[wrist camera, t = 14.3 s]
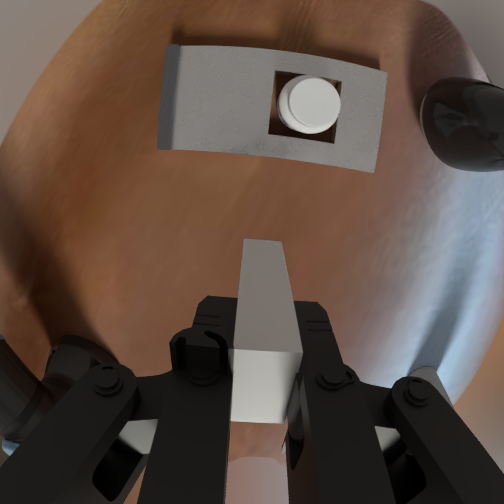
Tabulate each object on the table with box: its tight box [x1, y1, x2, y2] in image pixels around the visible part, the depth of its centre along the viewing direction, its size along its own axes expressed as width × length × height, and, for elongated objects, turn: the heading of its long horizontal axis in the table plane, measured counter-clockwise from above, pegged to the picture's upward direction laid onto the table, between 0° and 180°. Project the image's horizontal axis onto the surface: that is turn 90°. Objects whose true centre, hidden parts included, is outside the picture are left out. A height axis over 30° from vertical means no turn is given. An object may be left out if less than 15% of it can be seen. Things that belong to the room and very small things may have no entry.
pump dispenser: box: [420, 77, 504, 172], centre depth 21 cm, size 10×10×15 cm
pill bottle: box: [276, 75, 341, 134], centre depth 24 cm, size 5×5×9 cm
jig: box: [157, 44, 387, 173], centre depth 27 cm, size 22×11×3 cm, turn 84°
